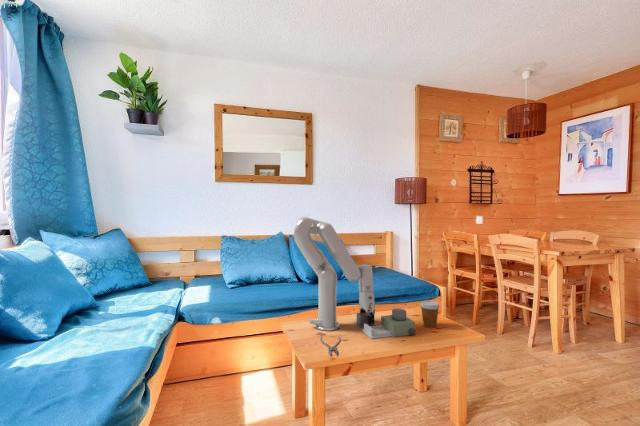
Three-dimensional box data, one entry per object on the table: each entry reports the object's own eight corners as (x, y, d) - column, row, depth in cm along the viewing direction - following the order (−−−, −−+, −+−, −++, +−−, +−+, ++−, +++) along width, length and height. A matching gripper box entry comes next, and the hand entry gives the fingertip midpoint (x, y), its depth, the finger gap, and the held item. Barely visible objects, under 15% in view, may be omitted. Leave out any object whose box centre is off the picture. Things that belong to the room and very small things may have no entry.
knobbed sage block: (373, 340, 139) (373, 319, 139) (360, 329, 153) (360, 309, 153) (416, 334, 146) (416, 314, 146) (400, 324, 159) (400, 305, 159)
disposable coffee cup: (442, 329, 153) (442, 305, 153) (423, 329, 153) (423, 305, 153) (435, 322, 162) (435, 300, 162) (417, 322, 162) (417, 300, 162)
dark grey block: (360, 327, 155) (360, 316, 155) (356, 324, 160) (356, 313, 160) (374, 326, 158) (374, 314, 158) (370, 322, 162) (370, 311, 162)
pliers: (337, 334, 145) (352, 352, 126) (337, 336, 145) (352, 355, 126) (318, 336, 143) (330, 355, 124) (318, 338, 143) (330, 357, 124)
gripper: (380, 291, 152) (381, 324, 152) (365, 283, 168) (366, 314, 168) (366, 292, 149) (367, 326, 149) (352, 285, 166) (354, 315, 166)
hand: (367, 320), depth 159 cm, fingers open, 9 cm apart
